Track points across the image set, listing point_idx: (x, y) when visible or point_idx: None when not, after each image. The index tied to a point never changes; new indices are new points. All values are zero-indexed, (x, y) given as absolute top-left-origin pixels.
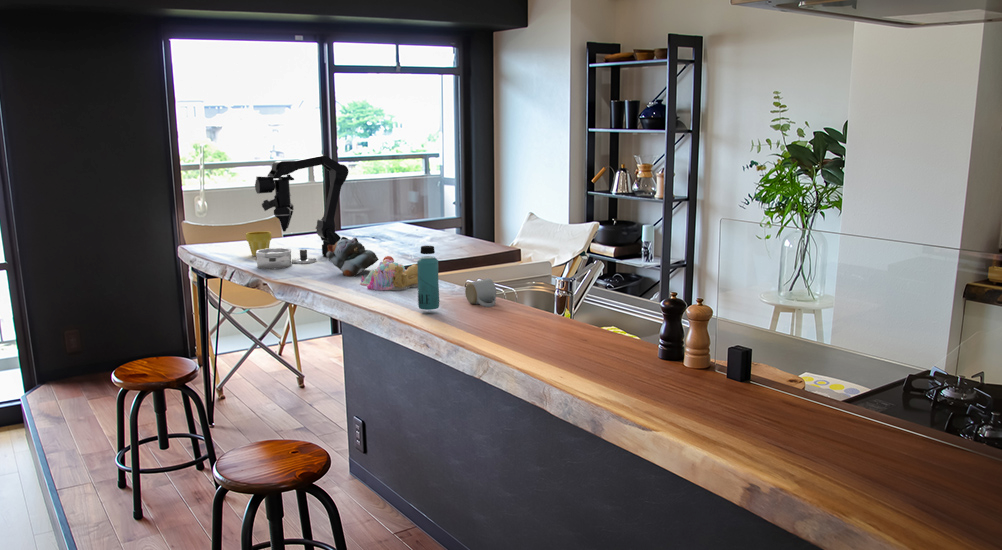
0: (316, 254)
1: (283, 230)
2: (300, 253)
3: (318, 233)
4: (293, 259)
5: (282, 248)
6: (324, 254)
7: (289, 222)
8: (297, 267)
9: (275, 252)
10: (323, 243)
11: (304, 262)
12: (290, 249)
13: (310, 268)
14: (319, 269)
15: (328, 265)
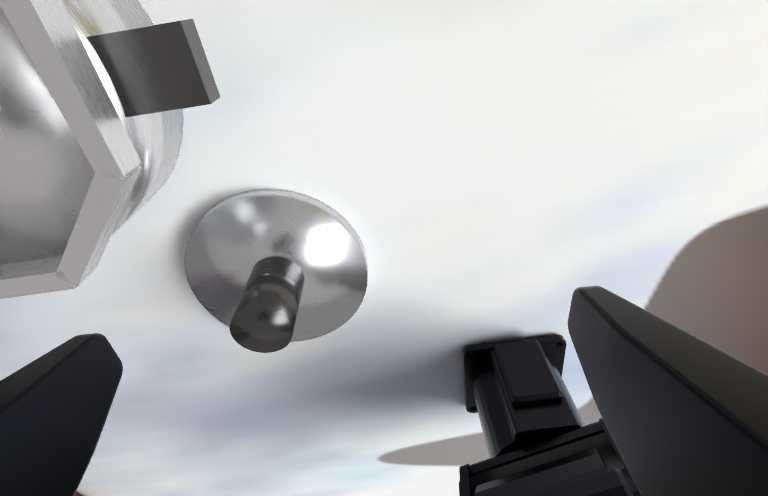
0: None
1: (68, 356)
2: (242, 296)
3: (568, 483)
4: (279, 206)
5: (90, 195)
6: (489, 356)
7: (633, 473)
8: None
9: (2, 113)
10: (512, 421)
11: (198, 290)
12: (51, 287)
13: (41, 341)
14: None
15: (169, 401)
